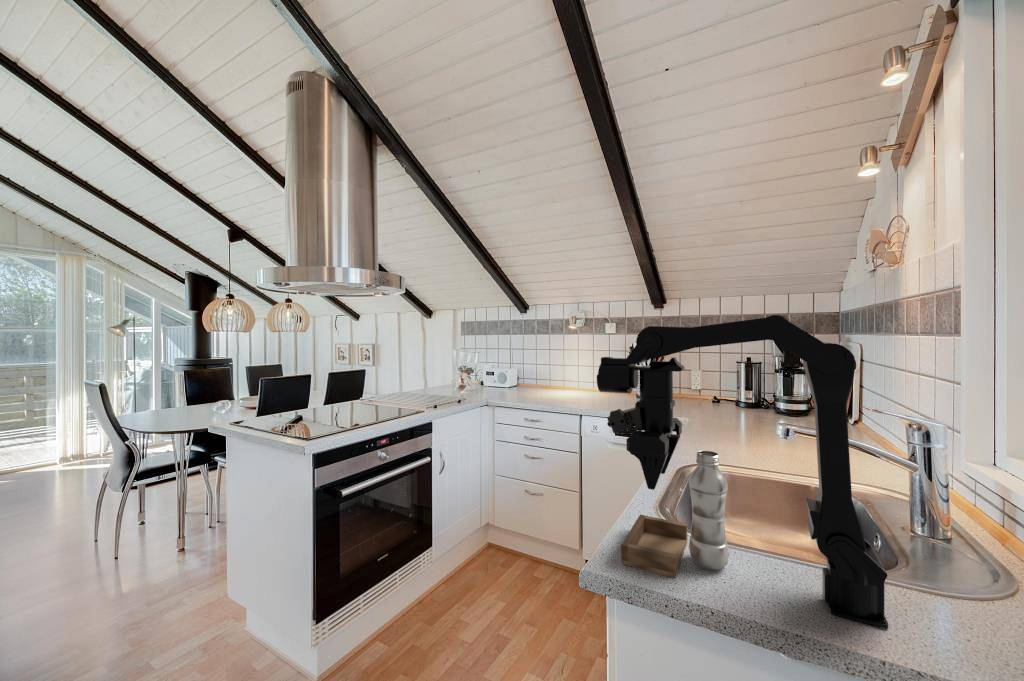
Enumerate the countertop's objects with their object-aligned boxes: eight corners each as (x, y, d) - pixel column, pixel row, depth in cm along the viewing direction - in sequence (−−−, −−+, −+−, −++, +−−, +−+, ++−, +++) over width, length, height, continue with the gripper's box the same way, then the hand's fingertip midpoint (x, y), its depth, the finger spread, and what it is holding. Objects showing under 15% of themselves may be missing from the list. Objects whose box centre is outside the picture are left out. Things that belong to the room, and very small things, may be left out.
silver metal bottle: (692, 573, 73) (691, 458, 72) (686, 553, 79) (685, 447, 79) (733, 577, 71) (732, 460, 71) (723, 556, 78) (722, 449, 77)
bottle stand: (687, 541, 84) (687, 523, 84) (675, 578, 71) (675, 557, 71) (640, 531, 88) (640, 514, 88) (621, 564, 76) (621, 544, 76)
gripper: (625, 386, 88) (626, 460, 89) (596, 399, 72) (597, 489, 72) (681, 389, 83) (682, 468, 83) (664, 404, 67) (664, 502, 67)
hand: (656, 480), depth 76 cm, fingers open, 9 cm apart
